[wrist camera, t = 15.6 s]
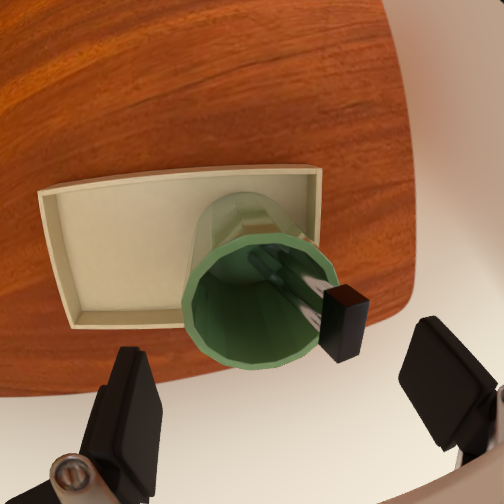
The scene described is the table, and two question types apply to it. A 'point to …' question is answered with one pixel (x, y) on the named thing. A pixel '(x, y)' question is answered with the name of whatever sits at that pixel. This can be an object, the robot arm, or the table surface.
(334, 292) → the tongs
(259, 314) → the green cup
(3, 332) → the table surface
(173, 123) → the table surface
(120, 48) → the table surface
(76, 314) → the tray
